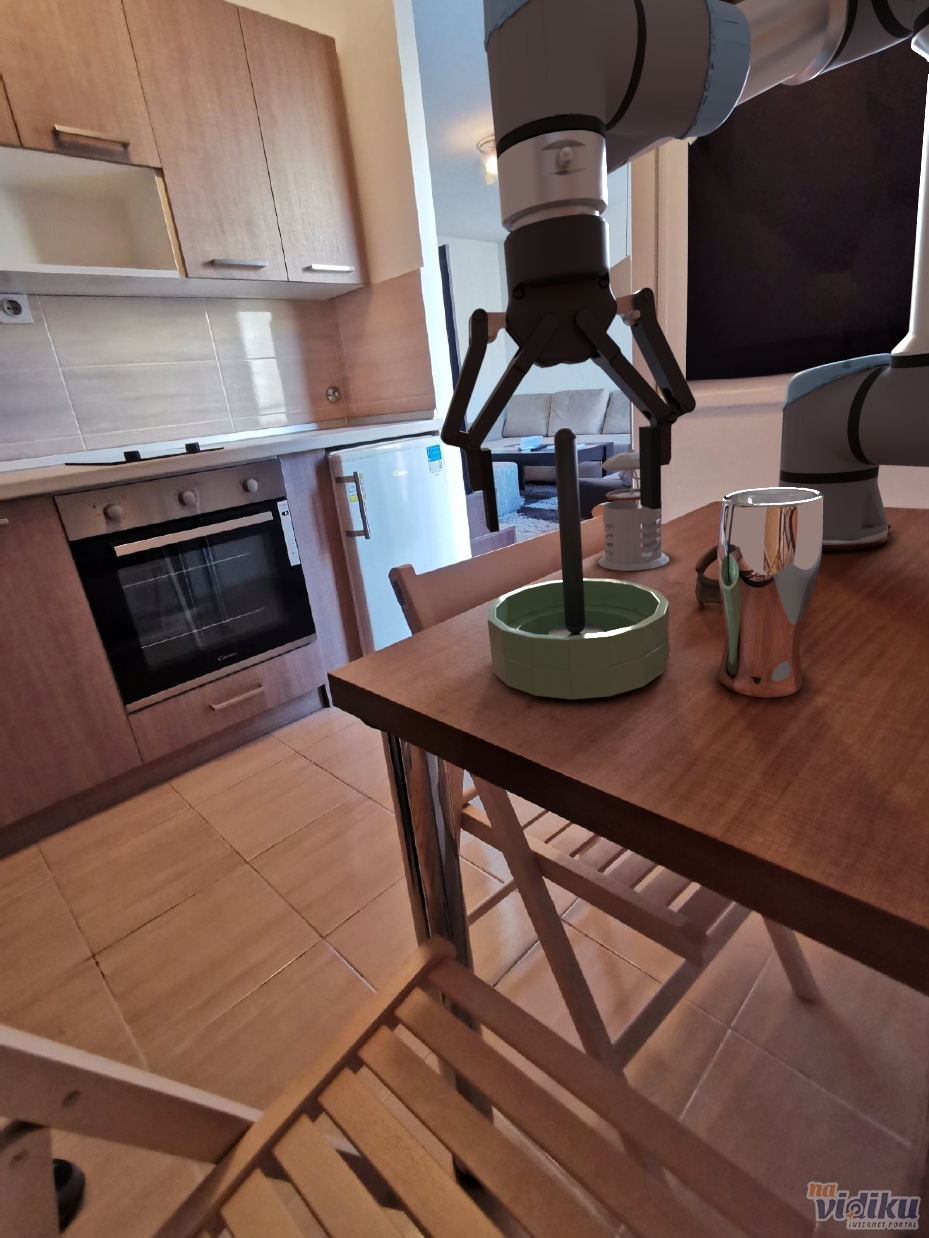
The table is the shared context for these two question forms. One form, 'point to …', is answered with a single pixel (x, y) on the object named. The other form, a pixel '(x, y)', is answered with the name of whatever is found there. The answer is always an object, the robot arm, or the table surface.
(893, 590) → the table surface
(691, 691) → the table surface
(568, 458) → the rod on round base
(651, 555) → the french press
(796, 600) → the beer glass
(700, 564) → the brown curved piece
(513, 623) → the bowl
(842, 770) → the table surface
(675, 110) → the robot arm
